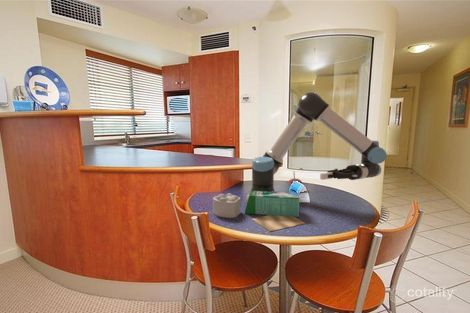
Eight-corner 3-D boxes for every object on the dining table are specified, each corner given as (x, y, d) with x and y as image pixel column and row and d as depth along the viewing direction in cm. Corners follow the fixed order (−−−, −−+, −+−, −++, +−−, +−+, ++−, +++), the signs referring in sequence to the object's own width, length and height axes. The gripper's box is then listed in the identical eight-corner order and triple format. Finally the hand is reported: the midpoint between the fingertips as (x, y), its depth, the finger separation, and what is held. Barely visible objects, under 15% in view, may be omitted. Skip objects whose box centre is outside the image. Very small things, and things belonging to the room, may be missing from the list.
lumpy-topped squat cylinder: (234, 218, 110) (234, 200, 109) (208, 214, 115) (208, 196, 114) (242, 211, 120) (242, 193, 118) (218, 207, 124) (218, 191, 123)
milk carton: (299, 198, 110) (244, 195, 115) (298, 217, 111) (244, 213, 116) (298, 192, 119) (246, 190, 123) (297, 210, 120) (246, 207, 125)
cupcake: (285, 188, 159) (286, 170, 158) (296, 187, 163) (297, 169, 161) (293, 192, 152) (294, 173, 150) (304, 190, 155) (305, 172, 153)
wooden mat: (284, 212, 117) (284, 212, 117) (305, 223, 105) (305, 222, 105) (252, 219, 109) (252, 218, 109) (269, 231, 97) (269, 231, 97)
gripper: (345, 162, 130) (311, 166, 120) (368, 166, 119) (332, 171, 109) (344, 176, 132) (311, 181, 121) (367, 181, 120) (332, 187, 110)
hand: (321, 176), depth 115 cm, fingers closed
